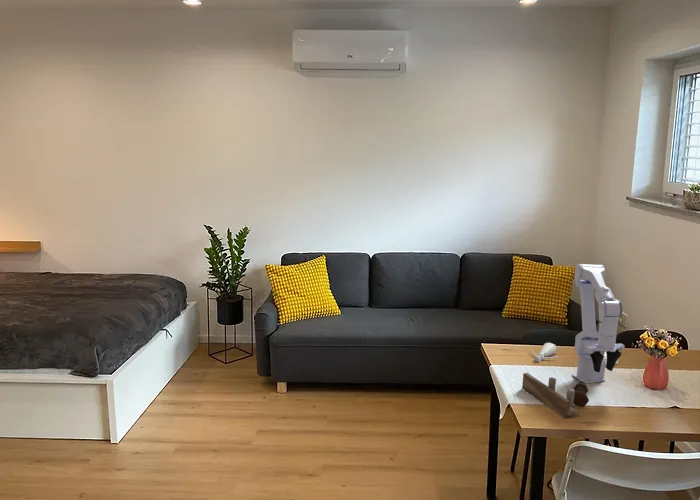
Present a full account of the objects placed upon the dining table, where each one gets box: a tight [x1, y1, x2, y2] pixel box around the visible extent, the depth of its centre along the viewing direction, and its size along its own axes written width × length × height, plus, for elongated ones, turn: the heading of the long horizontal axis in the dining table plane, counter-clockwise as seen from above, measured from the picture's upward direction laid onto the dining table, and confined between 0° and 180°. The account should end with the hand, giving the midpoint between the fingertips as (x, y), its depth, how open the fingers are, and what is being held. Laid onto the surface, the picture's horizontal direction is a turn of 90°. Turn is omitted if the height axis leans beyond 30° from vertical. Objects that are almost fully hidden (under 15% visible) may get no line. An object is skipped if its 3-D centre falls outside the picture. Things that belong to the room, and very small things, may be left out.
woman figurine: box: [530, 342, 559, 363], centre depth 250 cm, size 12×4×18 cm
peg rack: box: [521, 372, 582, 420], centre depth 207 cm, size 8×24×6 cm, turn 18°
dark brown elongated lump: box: [573, 380, 590, 408], centre depth 211 cm, size 6×5×15 cm
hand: (603, 370), depth 212 cm, fingers open, 5 cm apart
